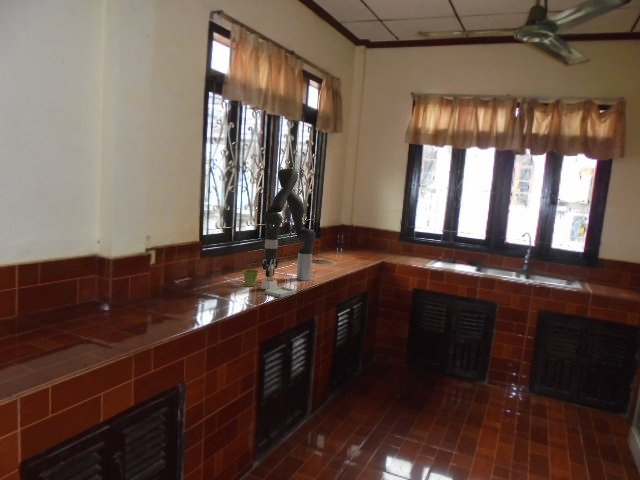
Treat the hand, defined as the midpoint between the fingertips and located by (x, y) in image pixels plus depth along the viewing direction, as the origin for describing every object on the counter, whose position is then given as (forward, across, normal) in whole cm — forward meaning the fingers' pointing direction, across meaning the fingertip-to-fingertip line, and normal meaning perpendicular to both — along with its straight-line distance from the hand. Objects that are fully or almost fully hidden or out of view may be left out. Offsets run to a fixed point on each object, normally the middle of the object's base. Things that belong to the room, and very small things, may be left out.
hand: (269, 276), depth 270 cm
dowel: (+7, 0, 0) cm, 7 cm away
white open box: (+8, 0, 0) cm, 8 cm away
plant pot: (+8, +2, -13) cm, 15 cm away
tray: (+8, +3, +12) cm, 14 cm away
